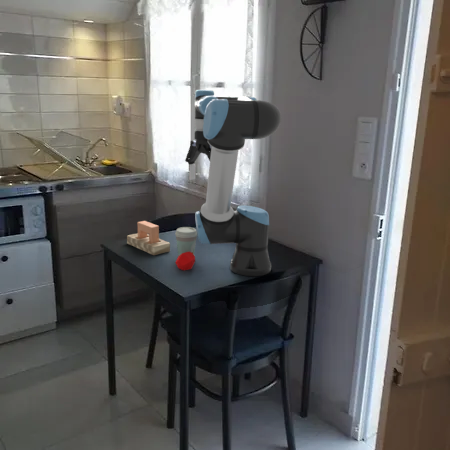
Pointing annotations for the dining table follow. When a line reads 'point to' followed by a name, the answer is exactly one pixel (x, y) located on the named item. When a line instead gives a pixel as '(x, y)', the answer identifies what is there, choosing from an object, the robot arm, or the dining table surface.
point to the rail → (148, 244)
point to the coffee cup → (186, 239)
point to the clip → (148, 231)
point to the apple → (185, 261)
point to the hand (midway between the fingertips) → (203, 182)
